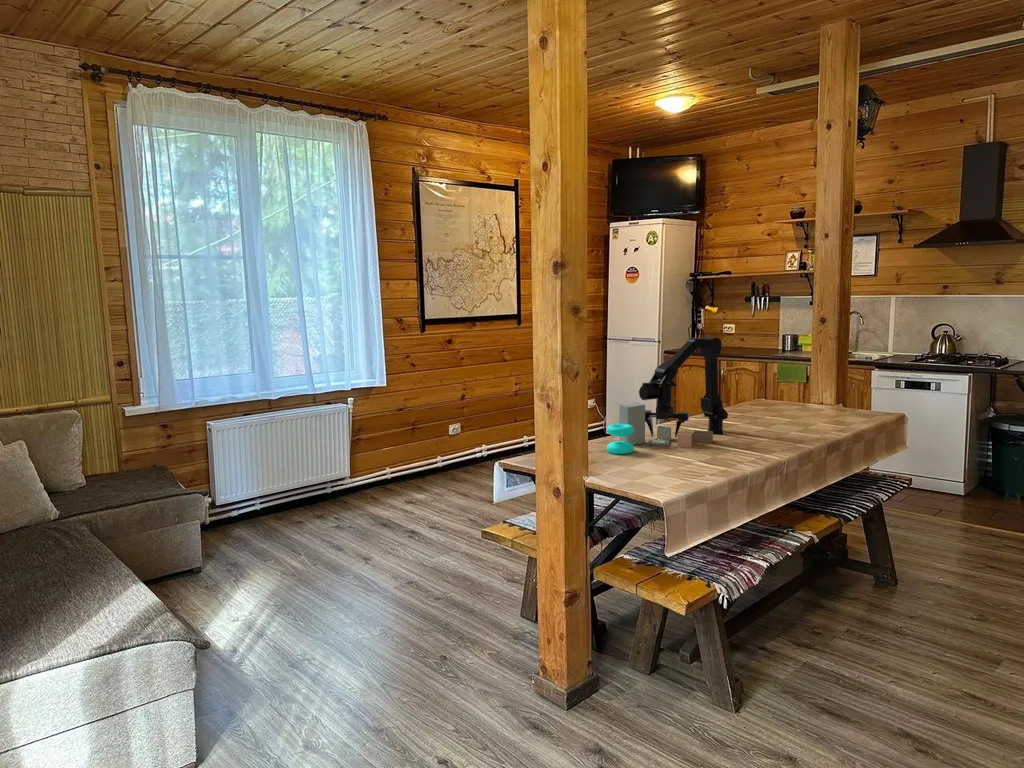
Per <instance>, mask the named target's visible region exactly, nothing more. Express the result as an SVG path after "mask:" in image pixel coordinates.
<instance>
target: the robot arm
mask: <svg viewBox="0 0 1024 768" xmlns="http://www.w3.org/2000/svg"><path fill="white" fill-rule="evenodd" d="M697 349H700V352H701V355H702V357H703V359H704V374H705V375H704V382H705V394H704V395H703V397H700V408H701V411H702V412H703V416H704V417H706V418H708V429H707V430H706V431H713V434H716V435H718V434H719V435H720V434H721V435H724V432H725V430H724V428H723V427H724V426H723V425H724V420H726V419H728V416H729V412H727V410H726V409H725V408H724V405H723V400H722V398H721V396H720V394H719V378H718V377H719V374H718V372H719V371H718V358H719V357H720V355H721V352H722V340H721V339H720V338H719V337H715V336H714V337H713V336H704V337H703V338H698V337H689V338H688V339H687V340H686V342H685V343H684V344H683V345H682V347H681V348H679V349H678V350H677V351H676V353H675V354H673V356H672V357H671V358H670V359H668V360H667V361H664V362H662V363H661V364H660V365H658V366H657V367H656V368H655V369H654V373H653V375H652V377H651V378H650V380H649V382H642V384H641V386H640V388H639V391H638V394H639V397H640V399H641V400H642V401H651V400H656V407H655V412H652V410H650V409H649V410H648V409H645V424H647V427H648V428H649V433H650V435H651V437H653V436H654V423H653V418H655V419H656V420H664V421H665V420H666V421H667V420H669V419H677V420H676V425H675V434H674V435H675V436H674V437H675V438H677V437H678V433H679V432H680V431H679V430H680V428H681V425H682V424H683V423H685V422H688V421H689V420H690V414H689V411H681V410H680V411H678V412H677V413H675V407H674V406H673V398H672V396H673V394H672V393H673V390H672V389H673V387H677V384H676V383H675V382H674V379H675V377H676V376H677V374H678V373H679V369H680V368H681V366H682V365H683V364H684V363H685V362H686V361H687V360H688V359H689V358H690V357H691V356H692V355H693V354H694V352H695V351H697Z"/></svg>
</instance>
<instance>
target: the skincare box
mask: <svg viewBox="0 0 1024 768" xmlns="http://www.w3.org/2000/svg"><path fill="white" fill-rule="evenodd" d="M618 406H619V409H618V410H619V413H618V414H619V418H618V419H619V420H618V421H619V422H618V423H619V424H629V425H631V426H633V427H634V432H633V433H632V434H631V435H629V436H623V437H619V441H625V442H629V443H631V444H632V445H633V446H635V445H636V444H637V445H642V444H645V443H646V421H645V410H646V404H645V403H641V402H638V401H635V402H629V403H622V404H619V405H618Z"/></svg>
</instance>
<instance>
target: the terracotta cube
mask: <svg viewBox="0 0 1024 768" xmlns="http://www.w3.org/2000/svg"><path fill="white" fill-rule="evenodd" d="M692 433H693V432H689V431H688V432H687V431H686V432H684V431H682V432H681V431H678V434H677V437H676V438H677V440H676V441H677V448H679V447H690V448H689V449H692V446H693V443H692Z"/></svg>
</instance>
